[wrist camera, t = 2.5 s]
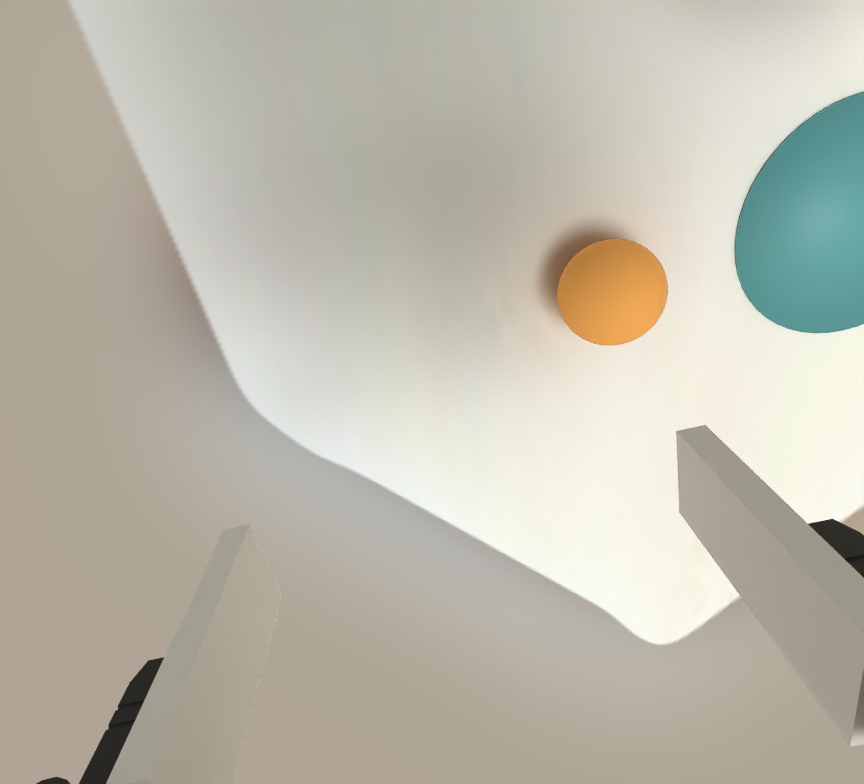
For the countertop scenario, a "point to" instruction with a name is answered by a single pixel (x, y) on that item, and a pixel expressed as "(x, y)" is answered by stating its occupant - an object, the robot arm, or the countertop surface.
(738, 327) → the countertop surface
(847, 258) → the disc
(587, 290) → the ball
